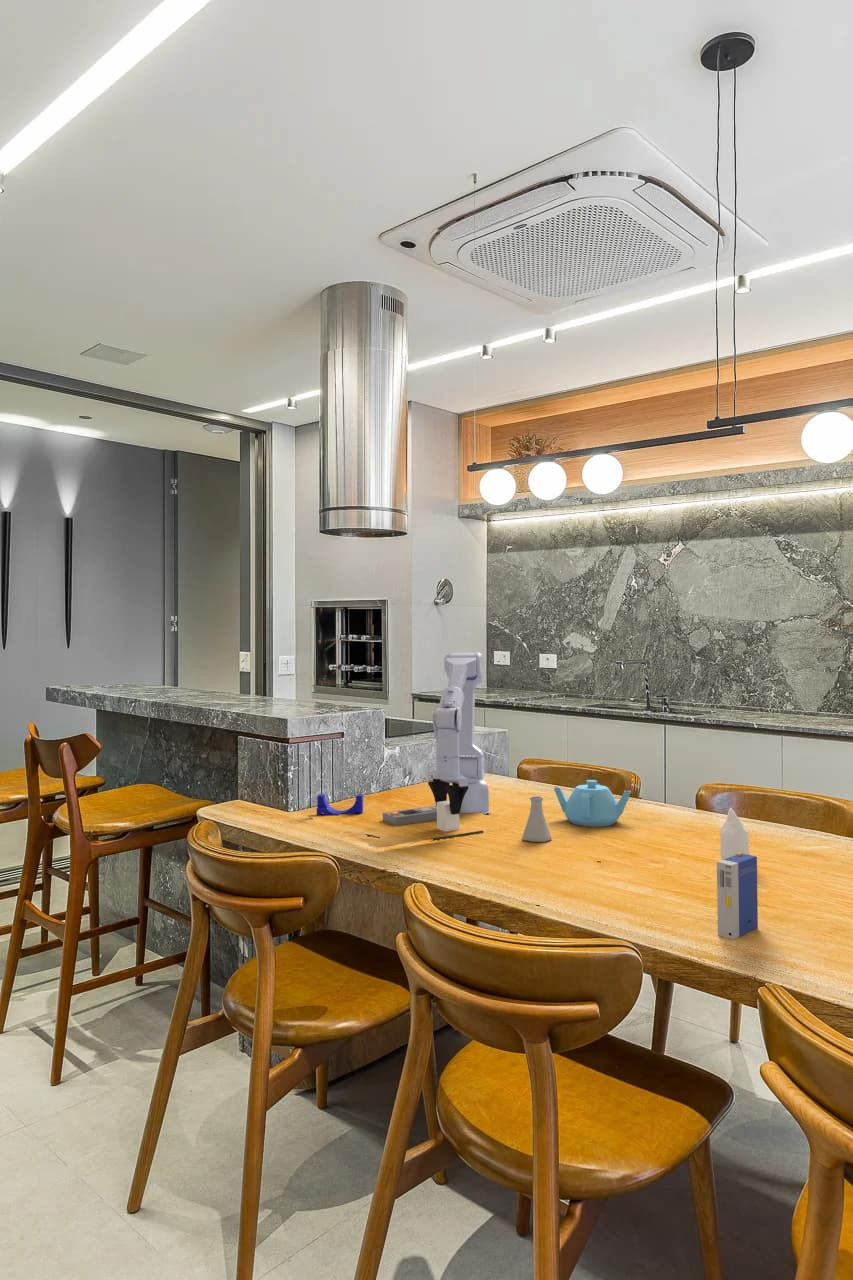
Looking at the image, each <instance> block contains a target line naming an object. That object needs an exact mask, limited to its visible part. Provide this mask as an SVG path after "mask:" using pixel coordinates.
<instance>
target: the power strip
mask: <svg viewBox="0 0 853 1280" xmlns="http://www.w3.org/2000/svg"><path fill="white" fill-rule="evenodd" d="M382 821H383V822H385V823H388V824H390V825H393V826H401V825H409V824H410V825H411V824H417V823H425V822H432V821H437V807H436V805H431V806H424V807H422V806H421V807H415V808H408V809H400V810H393V811H385V812H382Z"/></svg>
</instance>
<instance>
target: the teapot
mask: <svg viewBox="0 0 853 1280" xmlns="http://www.w3.org/2000/svg"><path fill="white" fill-rule="evenodd" d="M585 782H586V784H579V785H577V786H576V787H574V789H573V790H572V792H571V794H570V795H569V797H568V798H567V795H566V794H565V793H564V792H563V790H562V788H561V787H560V786H557V787H556V786H554V787H553V791H554V792H555V795H556V797H557V800H558V802H559V805H560V808H561V810H562V812H563V813H564V815H565V817H566V820H568V821H569V822H570V823H571V824H573V825H576V826H581V827H590V828H591V827H593V828H594V827H595V828H597V827H609V826H613V825H614V824H615V823H616V822H618V820H619V819H620V817H621V816H622V814H623V813H624V810H625V808H626V805H627V802H628V801H629V799H630V796H631V793H632V790H624V791H623V793H622V795H621V797H620V798H619V800H618V802H617V800H616V798H615V796H614V794H613V792H612V791H611V790H610V788H609V787H608V786H606V785H601V784H600V783H598V780H596V779H587V780H586V781H585Z"/></svg>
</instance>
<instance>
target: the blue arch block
mask: <svg viewBox="0 0 853 1280" xmlns="http://www.w3.org/2000/svg"><path fill="white" fill-rule="evenodd" d="M316 799H317V807H316V816H320V815H324V816H340V815H355V814H356V813H358V814H359V815H363V812H364V793H358V794H356V796H355V800H354V801H355V802H354V804H353V805H352V806H351V807H349V808H347V809H344V810H339V809H335V808H333V807H332V806H331V805H330V804H329V803H328V801H327V799H326V794H324V793H323V794H322V793H321V794H320V793H319V794H318V795H317V798H316Z"/></svg>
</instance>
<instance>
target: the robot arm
mask: <svg viewBox="0 0 853 1280" xmlns="http://www.w3.org/2000/svg"><path fill="white" fill-rule="evenodd" d="M443 661H444V662H443V664H444V667H443V668H444V672H445V674H446V676H447V679H448V687H445V688H444V689H443V690H442V694H441V698H440V701H439V705H438V707H437V708H436V709H434V710H433V713H432V726H433V727H432V728H433V732H434V733H433V736H434V738H435V766H436V767H435V769H436V770H429V771H428V773H429V774H428V776H429V779H430V780H432V781H430V780H429V781H428V782H427V785H428V787H429V788H430V790H431V793H432V795H433V798H434V799H433V800H434V801H435V806H436V807H437V802H440V801H448V800H449V802H450V811H451V814H452V815H454V814H459V815H460V814H475V813H477V814H481V815H488V814H487V813H490V814H491V811H490V805H489V804H490V797H489V795H490V792H489V787H488V783H487V782H486V781H485V780H484V778H485V772H486V763H485V754H484V752H483V750H481V749H480V748H479V747H478V746H477V745H475V710H476V709H475V708H476V707H475V706H476V705H475V703H476V700H475V699H476V698H475V697H476V690H477V689H476V688H477V685H480V684H482V682H483V677H484V660H483V655H482V653H481V652H479V651H478V652H447V653H446V654H445V656H444V659H443Z"/></svg>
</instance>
